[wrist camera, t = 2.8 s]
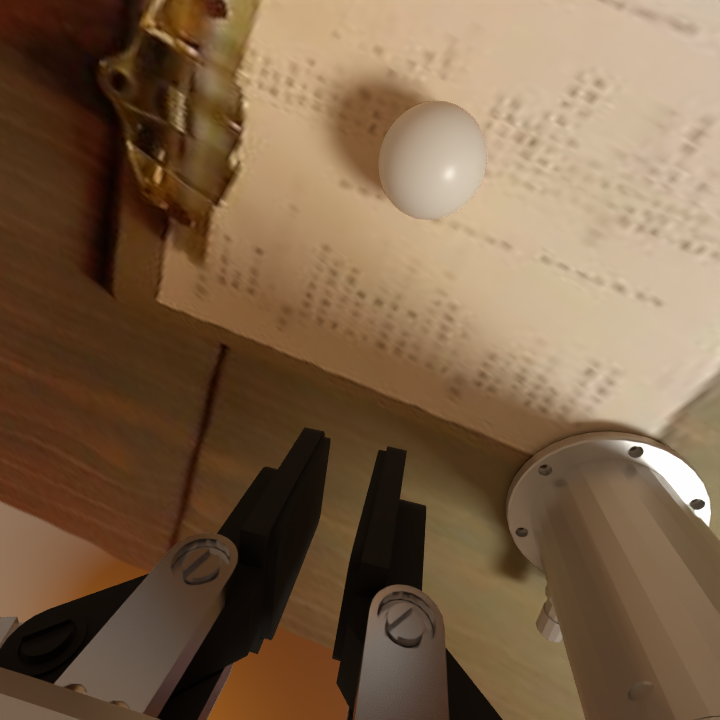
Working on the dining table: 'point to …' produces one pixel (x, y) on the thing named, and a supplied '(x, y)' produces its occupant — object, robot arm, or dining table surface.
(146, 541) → the dining table surface
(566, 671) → the dining table surface
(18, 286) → the dining table surface
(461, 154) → the cue ball
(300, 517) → the robot arm
